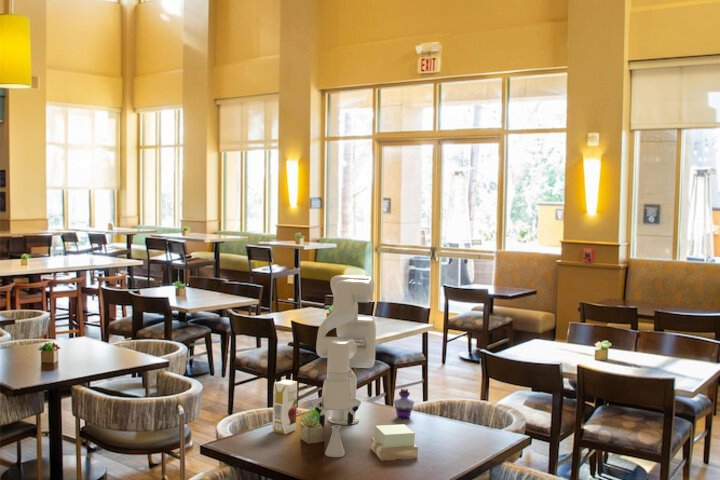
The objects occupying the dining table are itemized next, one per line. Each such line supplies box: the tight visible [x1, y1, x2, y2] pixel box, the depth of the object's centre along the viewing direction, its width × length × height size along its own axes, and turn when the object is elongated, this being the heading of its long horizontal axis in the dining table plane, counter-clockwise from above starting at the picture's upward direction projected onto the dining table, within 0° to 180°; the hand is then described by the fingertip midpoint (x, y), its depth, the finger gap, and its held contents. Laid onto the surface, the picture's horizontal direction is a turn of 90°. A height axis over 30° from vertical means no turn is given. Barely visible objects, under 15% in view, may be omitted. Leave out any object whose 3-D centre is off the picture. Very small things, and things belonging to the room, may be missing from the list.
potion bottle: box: [393, 388, 415, 420], centre depth 306 cm, size 9×9×12 cm
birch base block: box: [370, 437, 419, 461], centre depth 260 cm, size 13×13×4 cm
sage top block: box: [374, 423, 416, 448], centre depth 260 cm, size 11×11×4 cm
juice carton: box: [272, 378, 298, 435], centre depth 281 cm, size 8×9×19 cm
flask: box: [324, 424, 346, 458], centre depth 256 cm, size 7×7×10 cm
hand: (335, 425), depth 255 cm, fingers open, 9 cm apart
